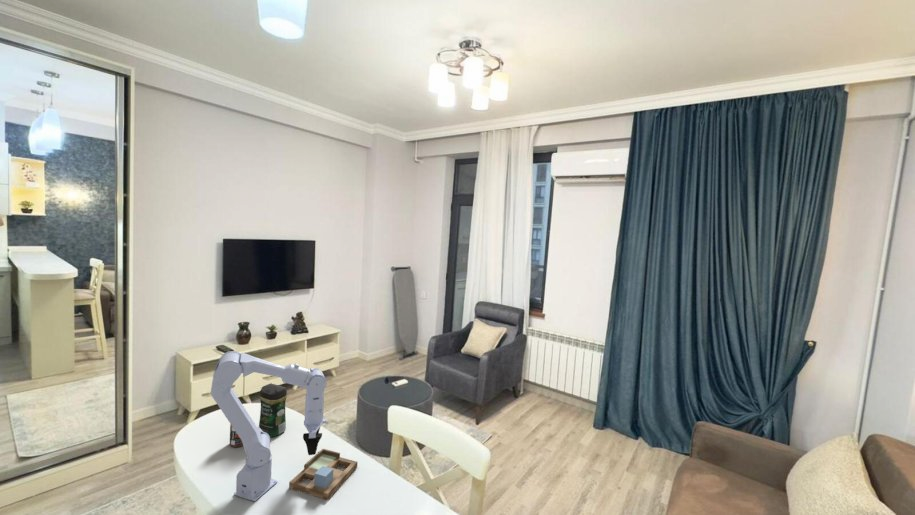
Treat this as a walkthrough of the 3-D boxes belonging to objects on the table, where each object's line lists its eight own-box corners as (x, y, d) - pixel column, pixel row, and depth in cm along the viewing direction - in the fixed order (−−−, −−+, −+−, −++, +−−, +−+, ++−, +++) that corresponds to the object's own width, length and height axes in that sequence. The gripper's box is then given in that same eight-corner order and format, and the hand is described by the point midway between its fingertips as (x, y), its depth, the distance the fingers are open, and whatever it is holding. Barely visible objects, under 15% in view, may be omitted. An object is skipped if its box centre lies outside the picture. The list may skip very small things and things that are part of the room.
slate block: (325, 488, 118) (325, 476, 118) (314, 485, 119) (314, 473, 119) (332, 480, 122) (333, 468, 121) (322, 477, 123) (322, 465, 122)
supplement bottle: (233, 450, 137) (234, 419, 136) (226, 443, 141) (227, 414, 140) (251, 443, 142) (251, 414, 141) (243, 437, 146) (244, 408, 145)
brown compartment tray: (327, 499, 116) (328, 488, 116) (288, 488, 120) (289, 477, 120) (357, 467, 132) (357, 457, 132) (322, 457, 136) (322, 448, 136)
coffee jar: (254, 432, 149) (255, 386, 147) (271, 423, 156) (273, 379, 155) (272, 439, 145) (274, 392, 144) (289, 430, 152) (291, 385, 151)
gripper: (326, 417, 119) (324, 459, 120) (327, 397, 133) (326, 434, 134) (302, 419, 117) (300, 461, 118) (306, 398, 131) (304, 436, 132)
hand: (312, 447), depth 126 cm, fingers open, 7 cm apart
